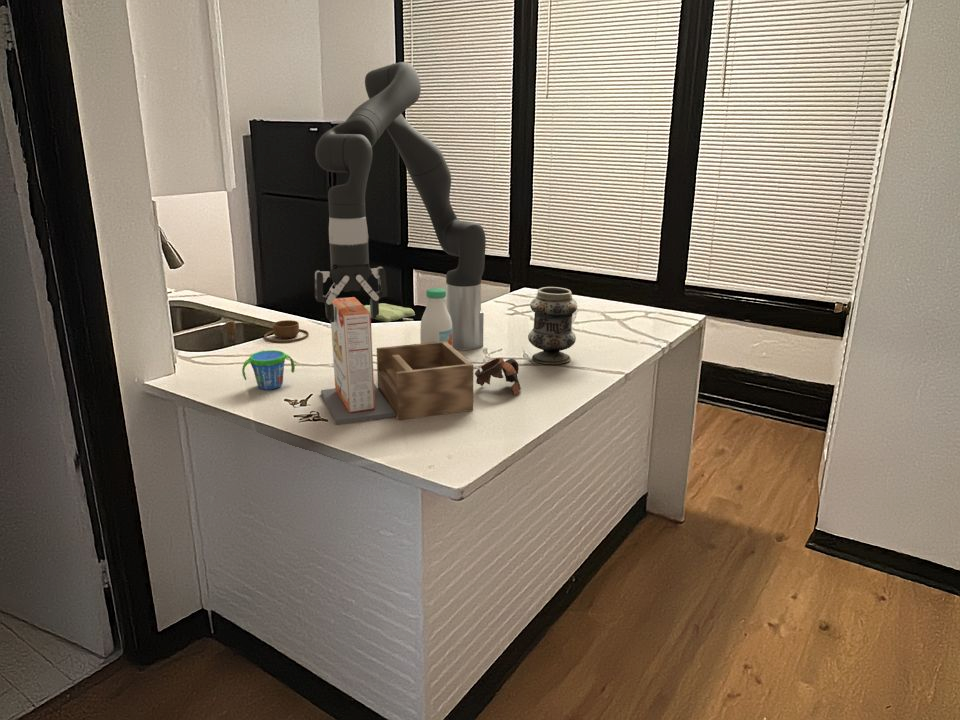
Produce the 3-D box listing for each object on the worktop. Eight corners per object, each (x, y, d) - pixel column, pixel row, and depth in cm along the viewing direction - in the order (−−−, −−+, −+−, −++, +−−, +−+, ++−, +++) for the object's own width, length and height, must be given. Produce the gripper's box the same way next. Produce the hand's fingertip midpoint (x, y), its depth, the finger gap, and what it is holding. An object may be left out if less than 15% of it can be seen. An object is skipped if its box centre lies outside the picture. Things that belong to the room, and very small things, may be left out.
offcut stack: (406, 392, 161) (405, 353, 158) (421, 411, 150) (421, 370, 147) (386, 394, 159) (385, 355, 156) (401, 414, 148) (399, 372, 146)
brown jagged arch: (513, 401, 156) (495, 369, 154) (481, 410, 161) (463, 379, 160) (536, 375, 164) (519, 344, 163) (505, 384, 170) (488, 355, 169)
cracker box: (333, 391, 158) (328, 298, 151) (360, 387, 160) (356, 295, 153) (346, 414, 145) (341, 313, 139) (376, 410, 147) (372, 311, 141)
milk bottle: (428, 377, 170) (427, 294, 164) (416, 367, 176) (414, 287, 170) (458, 372, 173) (458, 291, 167) (444, 363, 180) (444, 284, 173)
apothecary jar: (584, 358, 184) (588, 290, 179) (555, 369, 176) (558, 297, 170) (546, 349, 192) (549, 282, 187) (517, 358, 184) (519, 289, 178)
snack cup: (245, 395, 158) (242, 363, 155) (242, 384, 164) (239, 353, 162) (298, 388, 162) (296, 357, 160) (293, 378, 169) (290, 347, 166)
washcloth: (380, 308, 234) (380, 299, 233) (417, 318, 223) (417, 308, 222) (348, 316, 225) (347, 306, 224) (385, 326, 213) (385, 316, 212)
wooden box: (445, 382, 167) (445, 341, 163) (473, 410, 151) (473, 364, 147) (378, 390, 161) (376, 347, 158) (398, 420, 145) (397, 373, 142)
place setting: (290, 351, 190) (289, 329, 188) (223, 345, 195) (221, 324, 193) (320, 333, 206) (319, 313, 204) (257, 328, 211) (256, 309, 209)
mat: (374, 387, 163) (374, 383, 162) (394, 416, 147) (394, 412, 146) (321, 394, 159) (320, 389, 158) (336, 424, 143) (335, 420, 142)
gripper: (379, 235, 147) (382, 312, 153) (309, 239, 143) (314, 318, 148) (388, 241, 141) (391, 321, 146) (315, 244, 136) (320, 327, 141)
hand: (352, 319), depth 147 cm, fingers open, 8 cm apart
